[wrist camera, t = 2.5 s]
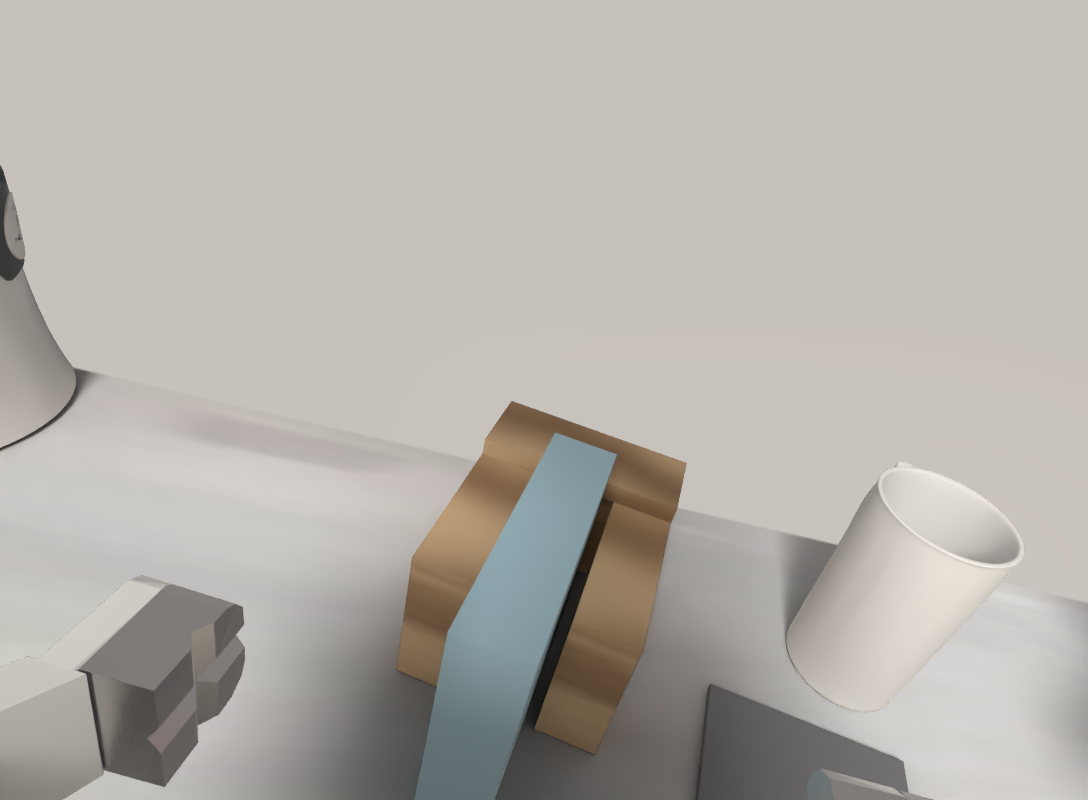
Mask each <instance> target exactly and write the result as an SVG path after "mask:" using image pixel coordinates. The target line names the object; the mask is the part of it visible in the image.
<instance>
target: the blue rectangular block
mask: <svg viewBox="0 0 1088 800" xmlns="http://www.w3.org/2000/svg"><path fill="white" fill-rule="evenodd" d="M616 456H617V454H614V453H611V452H609V451H606V450H603V449H600V448H597V447H595V446H592V445H589V444H586V443H583V442H581V441H578V440H575V439H572V438H570V437H567V436H564V435H561V434H558V433H556V432H555V434H554V436H553V438H552V439H551V441H550V443H549V445H548V447H547V449H546V451H545V452H544V454H543V456H542V458H541V460H540V462H539V464H538V465H537V467H536V469H535V471H534V473H533V475H532V477H531V478H530V480H529V482H528V484H527V486H526V488H525V490H524V491H523V493H522V495H521V497H520V499H519V501H518V502H517V504H516V506H515V508H514V510H513V512H512V514H511V515H510V517H509V519H508V521H507V523H506V525H505V527H504V528H503V530H502V532H501V534H500V536H499V538H498V540H497V541H496V543H495V545H494V547H493V549H492V551H491V553H490V554H489V556H488V558H487V560H486V562H485V564H484V565H483V567H482V569H481V571H480V573H479V575H478V577H477V578H476V580H475V582H474V584H473V586H472V588H471V590H470V591H469V593H468V595H467V597H466V599H465V601H464V603H463V604H462V606H461V608H460V610H459V612H458V614H457V616H456V617H455V619H454V621H453V623H452V625H451V627H450V628H449V630H448V633H447V638H446V643H445V648H444V653H443V658H442V663H441V668H440V673H439V678H438V683H437V688H436V693H435V698H434V703H433V708H432V713H431V718H430V723H429V728H428V733H427V738H426V743H425V748H424V753H423V758H422V763H421V768H420V773H419V778H418V783H417V788H416V793H415V798H414V800H495V798H496V795H497V793H498V790H499V787H500V784H501V782H502V779H503V776H504V773H505V771H506V768H507V765H508V762H509V760H510V757H511V754H512V751H513V749H514V746H515V743H516V740H517V738H518V735H519V732H520V729H521V727H522V724H523V721H524V718H525V716H526V713H527V710H528V707H529V705H530V702H531V699H532V696H533V694H534V691H535V688H536V685H537V683H538V680H539V677H540V674H541V672H542V669H543V666H544V663H545V661H546V658H547V655H548V653H549V650H550V647H551V644H552V642H553V639H554V636H555V633H556V631H557V628H558V625H559V622H560V619H561V617H562V614H563V611H564V608H565V605H566V602H567V599H568V596H569V593H570V590H571V587H572V584H573V581H574V579H575V576H576V573H577V570H578V567H579V564H580V561H581V558H582V555H583V552H584V549H585V546H586V543H587V541H588V538H589V535H590V532H591V529H592V526H593V523H594V520H595V517H596V514H597V511H598V508H599V505H600V503H601V500H602V497H603V494H604V491H605V488H606V485H607V482H608V479H609V476H610V473H611V470H612V467H613V465H614V462H615V459H616Z"/></svg>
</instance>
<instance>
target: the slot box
mask: <svg viewBox="0 0 1088 800" xmlns="http://www.w3.org/2000/svg"><path fill="white" fill-rule="evenodd" d="M555 432H556V433H558V434H561V435H564V436H567V437H570V438H572V439H575V440H578V441H581V442H583V443H586V444H589V445H592V446H595V447H597V448H600V449H603V450H606V451H609V452H611V453H614V454H617V456H616V459H615V462H614V465H613V467H612V470H611V473H610V476H609V479H608V482H607V485H606V488H605V491H604V494H603V497H602V500H601V503H600V505H599V508H598V511H597V514H596V517H595V520H594V523H593V526H592V529H591V532H590V535H589V538H588V541H587V543H586V546H585V549H584V552H583V555H582V558H581V561H580V564H579V567H578V570H579V571H582V572H584V573H587V574H588V575H587V578H586V580H585V583H584V586H583V589H582V592H581V595H580V598H579V601H578V604H577V607H576V609H575V612H574V615H573V618H572V621H571V624H570V627H569V630H568V633H567V636H566V638H565V641H564V644H563V647H562V650H561V653H560V656H559V659H558V662H557V664H556V667H555V670H554V673H553V676H552V679H551V682H550V685H549V688H548V691H547V693H546V696H545V699H544V702H543V705H542V708H541V711H540V714H539V717H538V720H537V722H536V725H535V728H534V729H536V730H538V731H541V732H543V733H545V734H548V735H550V736H552V737H555V738H557V739H559V740H562V741H564V742H566V743H569V744H571V745H573V746H576V747H578V748H580V749H583V750H585V751H587V752H590V753H592V754H595V752H596V750H597V748H598V746H599V744H600V742H601V739H602V737H603V735H604V733H605V731H606V729H607V727H608V724H609V722H610V720H611V718H612V716H613V714H614V712H615V709H616V707H617V705H618V703H619V701H620V699H621V697H622V694H623V692H624V690H625V688H626V686H627V684H628V682H629V680H630V677H631V675H632V673H633V671H634V669H635V667H636V665H637V662H638V660H639V658H640V656H641V654H642V652H643V649H644V645H645V640H646V636H647V631H648V626H649V622H650V617H651V612H652V608H653V603H654V599H655V594H656V589H657V585H658V580H659V575H660V571H661V566H662V562H663V557H664V552H665V548H666V543H667V538H668V534H669V529H670V525H671V521H672V519H673V517H674V515H675V512H676V510H677V507H678V502H679V497H680V492H681V487H682V483H683V478H684V473H685V468H686V464H687V463H685V462H682V461H679V460H677V459H674V458H671V457H668V456H665V455H662V454H660V453H657V452H654V451H651V450H648V449H646V448H643V447H640V446H637V445H634V444H631V443H628V442H626V441H623V440H620V439H617V438H614V437H612V436H609V435H606V434H603V433H600V432H598V431H595V430H592V429H589V428H586V427H583V426H581V425H578V424H575V423H572V422H569V421H567V420H564V419H561V418H558V417H555V416H553V415H550V414H547V413H544V412H541V411H538V410H535V409H533V408H530V407H527V406H524V405H522V404H519V403H515V402H513V401H512V402H511V403H510V404H509V406H508V407H507V409H506V410H505V411H504V413H503V414H502V416H501V417H500V419H499V420H498V422H497V423H496V424H495V426H494V427H493V429H492V430H491V432H490V433H489V434H488V436H487V437H486V439H485V445H484V449H483V454H482V455H481V457H480V458H479V460H478V461H477V463H476V464H475V466H474V467H473V469H472V470H471V471H470V473H469V474H468V476H467V477H466V479H465V480H464V482H463V483H462V485H461V486H460V488H459V489H458V491H457V492H456V494H455V495H454V496H453V498H452V499H451V501H450V502H449V504H448V505H447V507H446V508H445V510H444V511H443V513H442V514H441V516H440V517H439V519H438V520H437V522H436V523H435V524H434V526H433V527H432V529H431V530H430V532H429V533H428V535H427V536H426V538H425V539H424V541H423V542H422V544H421V545H420V547H419V548H418V549H417V551H416V552H415V554H414V555H413V557H412V562H411V569H410V577H409V584H408V591H407V598H406V605H405V613H404V620H403V627H402V634H401V641H400V649H399V656H398V663H397V670H398V671H401V672H403V673H405V674H408V675H410V676H412V677H415V678H417V679H419V680H422V681H424V682H426V683H429V684H431V685H433V686H436V687H437V683H438V678H439V673H440V668H441V663H442V658H443V653H444V648H445V643H446V638H447V633H448V630H449V628H450V627H451V625H452V623H453V621H454V619H455V617H456V616H457V614H458V612H459V610H460V608H461V606H462V604H463V603H464V601H465V599H466V597H467V595H468V593H469V591H470V590H471V588H472V586H473V584H474V582H475V580H476V578H477V577H478V575H479V573H480V571H481V569H482V567H483V565H484V564H485V562H486V560H487V558H488V556H489V554H490V553H491V551H492V549H493V547H494V545H495V543H496V541H497V540H498V538H499V536H500V534H501V532H502V530H503V528H504V527H505V525H506V523H507V521H508V519H509V517H510V515H511V514H512V512H513V510H514V508H515V506H516V504H517V502H518V501H519V499H520V497H521V495H522V493H523V491H524V490H525V488H526V486H527V484H528V482H529V480H530V478H531V477H532V475H533V473H534V471H535V469H536V467H537V465H538V464H539V462H540V460H541V458H542V456H543V454H544V452H545V451H546V449H547V447H548V445H549V443H550V441H551V439H552V438H553V436H554V434H555Z"/></svg>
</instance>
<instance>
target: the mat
mask: <svg viewBox="0 0 1088 800" xmlns="http://www.w3.org/2000/svg"><path fill="white" fill-rule="evenodd" d="M819 769H825V770H828V771H832V772H836V773H840V774H843V775H847V776H851V777H854V778H858V779H862V780H866V781H869V782H873V783H877V784H880V785H884V786H888V787H892V788H894V789H895V790H900V791H904V792H907V793H908V787H907V781H906V775H905V769H904V763H903V761H901V760H899V759H896V758H894V757H891V756H889V755H886V754H884V753H881V752H879V751H876V750H874V749H871V748H869V747H866V746H864V745H861V744H859V743H856V742H854V741H851V740H849V739H846V738H844V737H841V736H839V735H836V734H834V733H831V732H829V731H826V730H824V729H821V728H819V727H816V726H814V725H811V724H809V723H806V722H804V721H801V720H799V719H796V718H794V717H792V716H789V715H787V714H784V713H782V712H779V711H777V710H774V709H772V708H769V707H767V706H764V705H762V704H759V703H757V702H754V701H752V700H749V699H747V698H744V697H742V696H739V695H737V694H734V693H732V692H729V691H727V690H724V689H722V688H719V687H717V686H714V685H712V684H711V685H710V686H709V688H708V696H707V705H706V714H705V723H704V733H703V742H702V751H701V761H700V770H699V779H698V789H697V798H696V800H809V799H808V793H807V788H806V784H807V782H808V781H809V779H810V777H811V776H812V774H813V773H814V772H815V771H817V770H819Z"/></svg>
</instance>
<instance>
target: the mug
mask: <svg viewBox="0 0 1088 800" xmlns="http://www.w3.org/2000/svg"><path fill="white" fill-rule="evenodd" d="M1023 556H1024V545H1023V541H1022V539H1021V536H1020V535H1019V533H1018V531H1017V530H1016V528H1015V527H1014V526H1013V524H1012V523H1011V522H1010V521H1009V520H1008V519H1007V517H1006V516H1005V515H1004V514H1003V513H1002V512H1001V511H999V510H998V509H997V508H996V507H995V506H994V505H993V504H991V503H990V502H989V501H988V500H986V499H985V498H983V497H982V496H980V495H979V494H978V493H976V492H974V491H973V490H971V489H969V488H968V487H966V486H964V485H962V484H961V483H959V482H957V481H954V480H952V479H950V478H948V477H946V476H943V475H941V474H938V473H935V472H932V471H929V470H926V469H921V468H915V467H913V465H912V464H910V463H908V462H904V461H898V462H897V463H896V465H895V466H894V468H890V469H888V470H886V471H884V472H883V473H882V474H881V475H880V477H879V479H878V481H877V483H876V484H875V485H874V486H873V487H872V489H871V490H870V491H869V493H868V494H867V495H866V497H865V498H864V500H863V502H862V503H861V505H860V507H859V508H858V510H857V512H856V514H855V516H854V518H853V520H852V522H851V524H850V526H849V527H848V529H847V531H846V532H845V534H844V536H843V537H842V539H841V541H840V543H839V544H838V546H837V548H836V549H835V551H834V553H833V554H832V556H831V558H830V559H829V561H828V563H827V564H826V566H825V568H824V569H823V571H822V573H821V574H820V576H819V578H818V579H817V581H816V582H815V584H814V586H813V587H812V589H811V591H810V592H809V594H808V596H807V597H806V599H805V601H804V603H803V605H802V606H801V608H800V610H799V612H798V613H797V615H796V617H795V618H794V620H793V622H792V623H791V625H790V627H789V629H788V632H787V638H786V643H787V649H788V653H789V656H790V658H791V660H792V663H793V664H794V666H795V668H796V669H797V671H798V672H799V674H800V675H801V676H802V677H803V679H804V680H805V681H806V682H807V683H808V684H809V685H810V686H811V687H812V688H813V689H814V690H816V691H817V692H818V693H819V694H821V695H822V696H823V697H825V698H826V699H828V700H830V701H831V702H833V703H835V704H837V705H839V706H842V707H844V708H847V709H851V710H855V711H861V712H871V711H876V710H879V709H881V708H883V707H885V706H886V705H887V704H889V703H890V702H891V700H892V699H893V698H894V697H895V696H896V695H897V694H898V693H899V692H900V691H901V690H902V689H903V688H904V687H905V686H906V685H907V684H908V683H909V682H910V681H911V680H912V679H913V678H914V677H915V676H916V675H917V673H918V672H919V671H920V670H921V669H922V668H923V667H924V666H925V665H926V664H927V662H928V661H929V660H930V659H931V658H932V657H933V656H934V655H935V654H936V653H937V652H938V651H939V649H940V648H941V647H942V646H943V645H944V644H945V643H946V642H947V641H948V640H949V639H950V638H951V636H952V635H953V634H954V633H955V632H956V631H957V630H958V629H959V628H960V627H961V626H962V625H963V624H964V623H965V621H966V620H967V619H968V618H969V617H970V616H971V615H972V614H973V613H974V612H975V611H976V610H977V609H978V607H979V606H980V605H981V604H982V603H983V602H984V601H985V600H986V599H987V598H988V597H989V596H990V595H991V593H992V592H993V591H994V590H995V589H996V588H997V587H998V586H999V584H1000V583H1001V582H1002V581H1003V579H1004V578H1005V577H1006V576H1007V575H1008V573H1009V572H1010V571H1011V570H1012V569H1013V568H1014V567H1015V565H1017V564H1018V563H1019V562H1020V561H1021V560H1022V558H1023Z"/></svg>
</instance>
